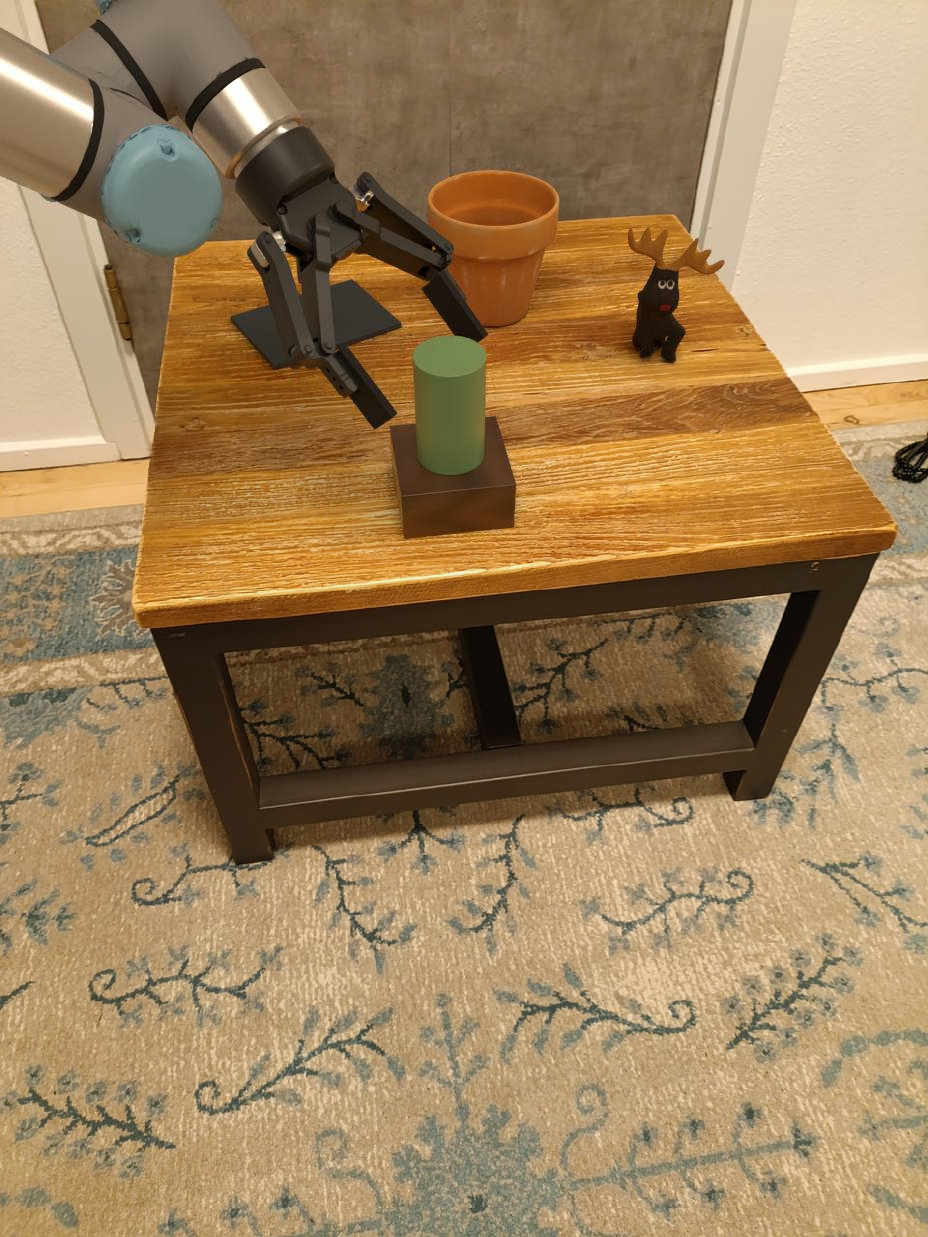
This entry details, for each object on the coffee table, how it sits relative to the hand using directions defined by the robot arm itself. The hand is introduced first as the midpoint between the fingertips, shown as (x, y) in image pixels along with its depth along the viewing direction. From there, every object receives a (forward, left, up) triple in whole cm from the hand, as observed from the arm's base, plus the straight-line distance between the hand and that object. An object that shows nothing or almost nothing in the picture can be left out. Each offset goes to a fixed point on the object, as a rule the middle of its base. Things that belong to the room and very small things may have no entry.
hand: (434, 380), depth 75 cm
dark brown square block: (+1, -2, -12) cm, 12 cm away
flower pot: (+23, +24, -12) cm, 35 cm away
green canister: (+1, -2, -7) cm, 7 cm away
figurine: (+33, +6, -12) cm, 35 cm away
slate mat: (+4, +32, -12) cm, 35 cm away
